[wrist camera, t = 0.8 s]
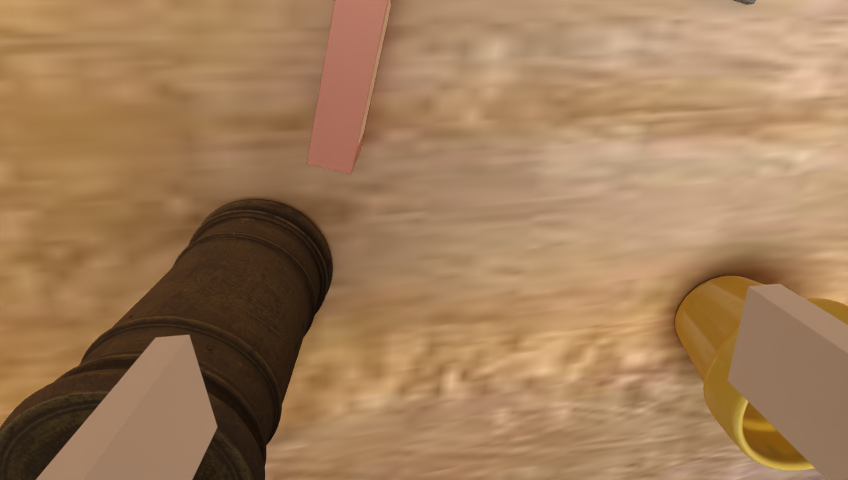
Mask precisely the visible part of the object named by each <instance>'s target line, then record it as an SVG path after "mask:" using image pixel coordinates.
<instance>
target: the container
mask: <svg viewBox="0 0 848 480" xmlns="http://www.w3.org/2000/svg"><path fill="white" fill-rule="evenodd" d="M332 273H333V266H332V258H331V254H330V251H329V248H328V245H327V243H326V241H325V239H324V237H323V236H322V234H321V233H320V231H319V230H318V229H317V228H316V226H315V225H314V224H313V223H312V222H311V221H310V220H309V219H307V218H306V217H305V216H304V215H302V214H301V213H299V212H298V211H296V210H294V209H292V208H290V207H288V206H286V205H283V204H280V203H277V202H272V201H267V200H243V201H237V202H233V203H230V204H227V205H225V206H222V207H220V208H219V209H217V210H216V211H214V212H213V213H211V214H210V215H209V216H208V217H207V218H206V219H205V221H204V222H203V223H202V225H201V226H200V227H199V229H198V230H197V231H196V232H195V234H194V235H193V237H192V239H191V241H190V243H189V246H188V247H187V248H186V249H185V250H184V251H183V252H182V253H181V254H180V255H179V257H178V258H177V260H176V262H175V264H174V266H173V268H172V269H171V270H170V271H169V272H168V273H167V274H166V275H165V276H164V277H163V278H162V279H161V280H160V281H159V282H158V283H157V284H156V285H155V286H154V287H153V288H152V289H151V290H150V291H149V292H148V293H147V294H146V295H145V296H144V297H143V298H142V299H141V300H140V301H139V302H138V303H137V304H136V305H135V306H134V307H133V308H131V309H130V310H129V311H128V312H127V313H126V314H125V315H124V316H123V317H122V318H121V319H120V320H119V321H118V322H117V323H116V324H115V325H114V326H113V327H112V328H111V329H110V330H108V331H107V332H105V333H104V334H102V335H101V336H100V337H99V338H98V339H97V340H96V341H95V342H94V343H93V344H92V345H91V346H90V347H89V349H88V350H87V351H86V353H85V355H84V357H83V359H82V361H81V363H80V365H79V366H77V367H75V368H73V369H72V370H70V371H68V372H67V373H65V374H64V375H62V376H61V377H59V378H58V379H57V380H56V381H55V382H53V383H51V384H49V385H47V386H45V387H44V388H42V389H40V390H38V391H37V392H35V393H34V394H32V395H31V396H29V397H28V398H27V399H25V400H24V401H23V402H22V403H21V404H20V405H19V406H17V407H16V408H15V410H14V411H13V412H12V413H11V414H10V415H9V417H8V418H7V419H6V420H5V422H4V423H3V425H2V426H1V428H0V480H36V479H37V478H38V477H39V475H40V474H41V473H42V472H43V471H44V469H45V468H46V467H47V466H48V465H49V464H50V462H51V461H52V460H53V459H54V458H55V456H56V455H57V454H58V453H59V452H60V450H61V449H62V448H63V447H64V446H65V445H66V443H67V442H68V441H69V440H70V439H71V437H72V436H73V435H74V434H75V433H76V432H77V430H78V429H79V428H80V427H81V426H82V424H83V423H84V422H85V421H86V420H87V418H88V417H89V416H90V415H91V414H92V413H93V411H94V410H95V409H96V408H97V407H98V405H99V404H100V403H101V402H102V401H103V399H104V398H105V397H106V396H107V395H108V394H109V392H110V391H111V390H112V389H113V388H114V386H115V385H116V384H117V383H118V382H119V381H120V379H121V378H122V377H123V376H124V375H125V373H126V372H127V371H128V370H129V369H130V367H131V366H132V365H133V364H134V363H135V362H136V360H137V359H138V358H139V357H140V356H141V354H142V353H143V352H144V351H145V350H146V348H147V347H148V346H149V345H150V344H151V343H152V341H153V340H154V339H155V338H156V337H168V336H179V335H190V338H191V342H192V345H193V348H194V352H195V355H196V358H197V361H198V365H199V368H200V371H201V375H202V378H203V381H204V384H205V388H206V391H207V394H208V397H209V401H210V404H211V407H212V411H213V414H214V417H215V420H216V424H217V429H216V431H215V433H214V435H213V437H212V440H211V442H210V444H209V446H208V448H207V450H206V452H205V454H204V456H203V458H202V460H201V463H200V465H199V467H198V469H197V471H196V473H195V475H194V477H193V479H192V480H265V468H264V467H265V463H266V445H267V444H268V443H269V441H270V440H271V438H272V437H273V435H274V434H275V432H276V430H277V427H278V425H279V421H280V417H281V410H282V403H283V400H284V397H285V394H286V391H287V388H288V385H289V382H290V379H291V375H292V372H293V369H294V365H295V362H296V359H297V356H298V353H299V350H300V347H301V344H302V340H303V337H304V336H305V335H306V333H307V332H308V330H309V328H310V327H311V324H312V322H313V319H314V315H315V314H316V313H317V312H318V310H319V309H320V307H321V305H322V303H323V301H324V299H325V296H326V294H327V292H328V290H329V287H330V284H331V280H332Z"/></svg>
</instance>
